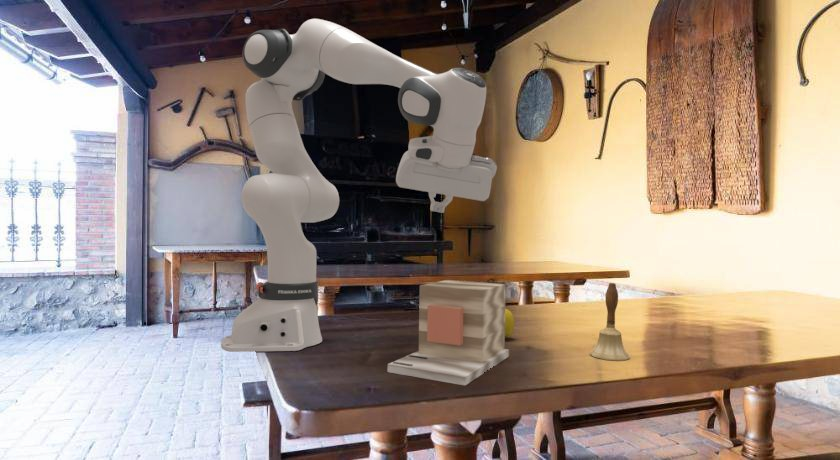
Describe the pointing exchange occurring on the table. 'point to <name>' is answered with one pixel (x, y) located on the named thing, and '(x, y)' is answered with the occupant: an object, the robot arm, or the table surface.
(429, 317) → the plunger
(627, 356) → the hand bell
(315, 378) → the table surface
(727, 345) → the table surface
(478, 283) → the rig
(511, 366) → the table surface
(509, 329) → the lemon
